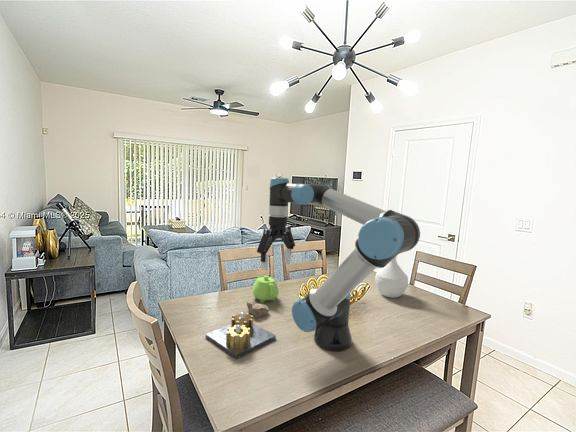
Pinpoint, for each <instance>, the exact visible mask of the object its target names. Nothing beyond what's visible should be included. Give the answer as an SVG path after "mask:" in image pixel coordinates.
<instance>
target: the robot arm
mask: <svg viewBox="0 0 576 432" xmlns="http://www.w3.org/2000/svg"><path fill="white" fill-rule="evenodd" d="M289 204H296V205H300V206H301V205H308V204H318V205H319V206H323V207H325V208H327V209H329V210H331V211H333V212H336V213H338V214H340V215H342V216H344V217H346V218H348V219H351V220H352V221H354V222H357V223H359V224H361V225H362V226H361V227H360V229H359V232H358V235H357V236H358V238H357V239H356V240H355V242H354V247H355V249H353V251H352V252H350V254H349V255H348V256H347V257H346V258H345V259H344V260H343V261H342V262H341V263H340V265H339V266H338V267H336V269H335V270H334V271H333V272H332V273H331V274H330V275H329V276H328V278H327V279H325V281H324V282H323V283H322V284H321V285H320V286H319V287H318V286H317V287H316V286H315V287H313V288H312V289H310V291H309V292H307V294H306V295H305V296H304V297H303V298H300V299H297V300H296V301H294V302H293V304H292V307H291V314H292V316H291V317H292V319H293V322H294V323H295V325H296V326H297V328H298V329H300V330H301V331H302V332H304V333H310V332H314V335H313V337H314V338H313V341H314V343H315V345H317V346H318V347H320V348H322V349H324V350H327V351H329V352H330V351H332V352H342V351H346V350H348V349H349V348H351V346H352V341H353V340H352V334H351V330H350V326H349V318H350V307H351V300H352V298H351V293H352V292H353V291H354V290H355V289H356V288H357V287H358V286H359V285H360V284H361V283H362V282H363V281H364V280H365V279H366V278H368V277H369V276H370V274H372V273H373V272H374V271H375V269H376V268H377V269H382V268H384V267H385V266H386V265H387V264H388V263H389V262H390V261H391V260H393V259H394V258H395V257H396V258H397V256H398V255H400V254H402V253H406V252H408V251H411V250H413V248H415V247H416V246H417V245H418V243H419V242H420V238H421V231H420V227H419V225H418V223H417V222H416V220H414V219H413V218H412V217H410V216H408V215H406V214H403V213H400V212H398V211H394V210H392V209H388V210H385V209H382V208H379V207H377V206H374V205H373V204H372V205H371V204H369V203H367V202H364V201H362V200H360V199H356V198H354V197H352V196H350V195H347V194H346V193H345V194H344V193H343V192H340V191H337V190H335V189H332V187H331V186H330V185H328V184H324V183H319V184H318V183H317V184H315V183H314V184H313V183H309V184H308V183H290V179H289V178H287V177H271V179H270V181H269V208H268V210H269V211H268V214H269V217H268V225H269V228H263V232H262V236H261V238H260V239H261V240H260V241H259V244H258V247H257V249H256V253H259V254H260V262H261V270H263V271H268V265H269V264H268V263H269V262H268V261H269V254H268V252H269V250H270V248H271V247H272V245H273V243H274V241H275V242H276V240H278V239H280V240H281V241H282V242H283V244H284V246H285V248H284V264H287V265H291V256H292V250H294V248H295V247H296V243H295V239H294V237H293V233H292V227H291V225H288V213H289V209H288V208H289Z"/></svg>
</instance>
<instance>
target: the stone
mask: <svg viewBox="0 0 576 432" xmlns="http://www.w3.org/2000/svg"><path fill="white" fill-rule="evenodd" d="M246 306H247V307H246V308H247V309H248V311H249V314H251V315H253V317H255V318H260V317H263V316H266V315H267V314H268V313H269V312H270V308H269V307H268V306H267V305H266V304H264V303H257V302H256V303H255V302H249V301H247V302H246Z"/></svg>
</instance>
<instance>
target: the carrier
mask: <svg viewBox="0 0 576 432" xmlns="http://www.w3.org/2000/svg"><path fill="white" fill-rule="evenodd" d="M231 316H232V317H231V321H230V322H231V323H230V324H227V325H225V326H222V327H220V328H217V329H215V330H212V331H210V332H207V333H205V338H206V340H208V341H210V342H212V344H215V345H216V346H217V347H219V348H220V349H222V350H223V351H224V352H226V353H227V354H229V356H231V357H233V358H234V359H235V360H237V359H238V358H239V359H240V358H241V357H242V356H244V355H247V354H249V353H251V352H253V351H255V350H257V349H258V348H260V347H262V346H264V345H267V344H269V343H271V342H272V341H274V340H276V338H277V337H276V334H274V333H272V332H270V331H268V330H266V329H264V328H262V327H261V326H259V325H257V324H255V323H254V316H253V315H252V314H251V315H250V312H244V311H240V312H238V313H237V314H232V315H231ZM234 325H236V333H241V326H242V325H245V327H246V328H250V343H249V346H244V347H243V349H240V348H234V349H231V346H229V345H228V346H227V345H226V332H227V329H228V328H229V327H230V328H232V327H234Z"/></svg>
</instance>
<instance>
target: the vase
mask: <svg viewBox="0 0 576 432" xmlns="http://www.w3.org/2000/svg"><path fill="white" fill-rule="evenodd" d="M374 281H375V285H376V288H377V290H378V292H379V293H380V294H381V295H382V296H384V297H387V298H390V299H392V298H393V299H396V298H399V297H401V296H402V295H403V294H404V293H405V292H406V290H407V288H408V286H409V276H408V275H407V274H406V273H405V271H404V270H403V269H402V268H401V266H400V265H399V264H398V262H397V256H396V257H395V258H394V259H393V260H391V261H390V262H389V263H388V264H387V265H386V266H385V267H384V268H379V270H378V271H377V272H376V274H375V279H374Z"/></svg>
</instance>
